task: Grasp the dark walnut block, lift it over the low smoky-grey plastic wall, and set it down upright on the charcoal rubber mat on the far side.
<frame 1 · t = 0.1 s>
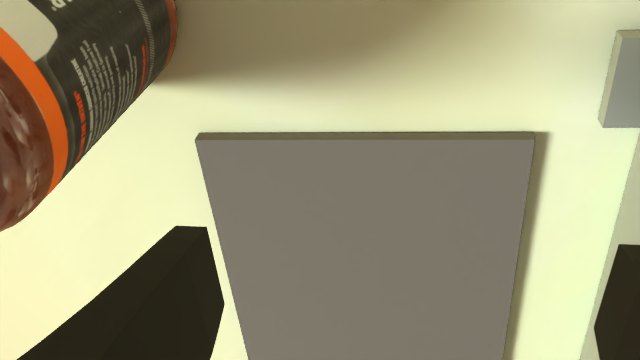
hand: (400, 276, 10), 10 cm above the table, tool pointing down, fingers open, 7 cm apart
low wall: (615, 284, 23), on the table
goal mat: (365, 274, 24), on the table
supplement bottle: (100, 1, 19), on the table
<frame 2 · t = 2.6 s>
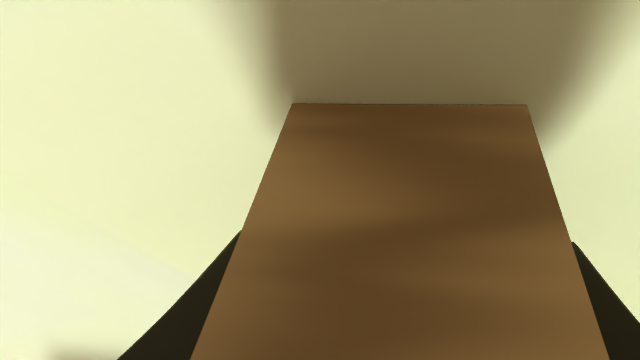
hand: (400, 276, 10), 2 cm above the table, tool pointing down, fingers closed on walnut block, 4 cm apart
walnut block: (403, 197, 12), on the table, touching gripper
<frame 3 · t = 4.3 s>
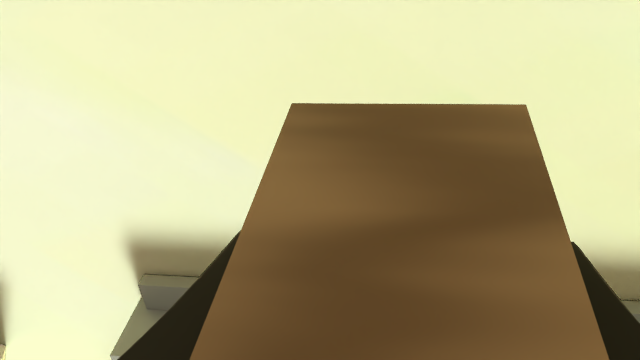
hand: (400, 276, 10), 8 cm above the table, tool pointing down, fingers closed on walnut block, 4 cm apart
low wall: (401, 323, 23), on the table
walnut block: (403, 197, 12), point 6 cm above the table, touching gripper
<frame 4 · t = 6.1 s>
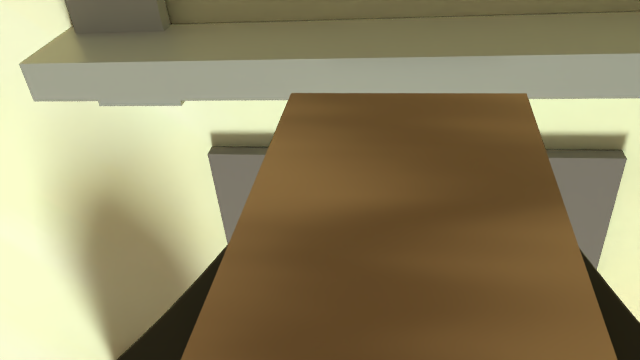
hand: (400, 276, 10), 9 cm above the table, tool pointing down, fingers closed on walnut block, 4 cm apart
low wall: (406, 37, 17), on the table
walnut block: (403, 187, 12), point 7 cm above the table, touching gripper
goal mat: (404, 274, 23), on the table
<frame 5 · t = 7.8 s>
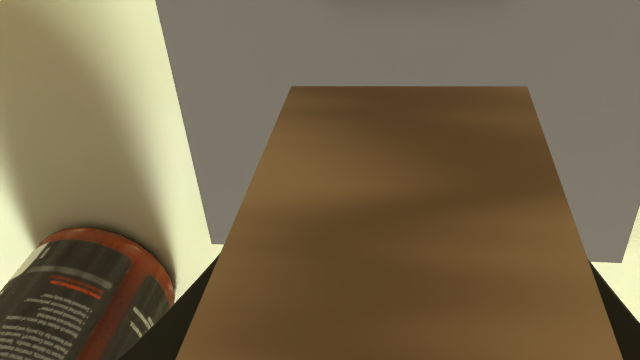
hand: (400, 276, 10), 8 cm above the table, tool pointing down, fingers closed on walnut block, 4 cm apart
walnut block: (403, 181, 12), point 5 cm above the table, touching gripper
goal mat: (409, 88, 17), on the table
supplement bottle: (112, 272, 24), on the table
when the fingers open (4 cm above the table, at t = 9.4 s): walnut block drops 1 cm, resting on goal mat.
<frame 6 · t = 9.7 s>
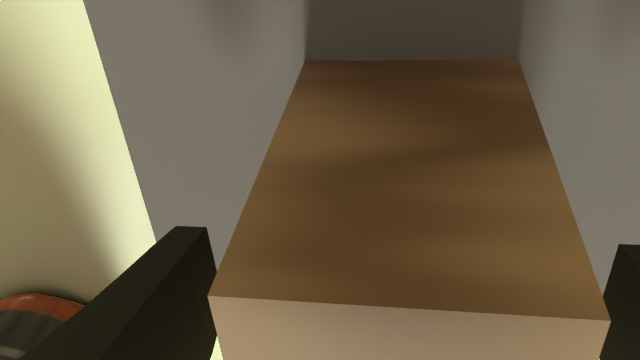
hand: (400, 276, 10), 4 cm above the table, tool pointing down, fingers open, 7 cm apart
walnut block: (406, 150, 13), resting on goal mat
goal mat: (405, 149, 14), on the table
supplement bottle: (70, 338, 21), on the table
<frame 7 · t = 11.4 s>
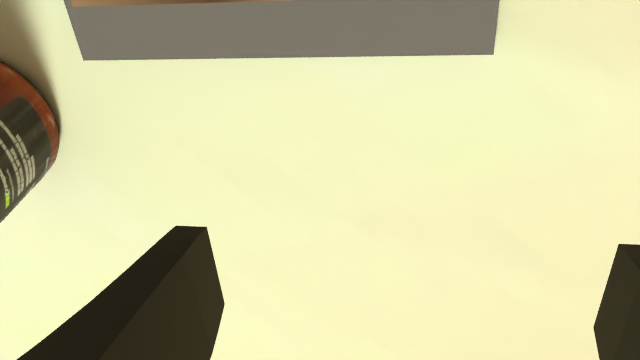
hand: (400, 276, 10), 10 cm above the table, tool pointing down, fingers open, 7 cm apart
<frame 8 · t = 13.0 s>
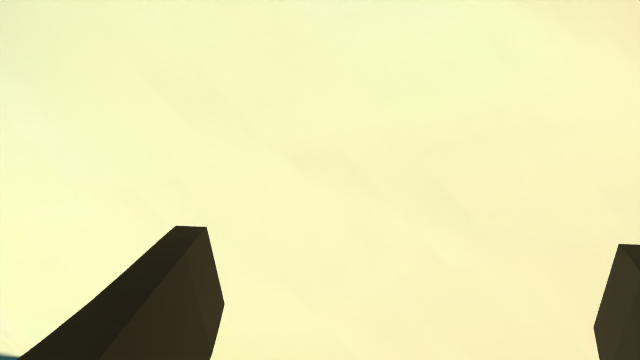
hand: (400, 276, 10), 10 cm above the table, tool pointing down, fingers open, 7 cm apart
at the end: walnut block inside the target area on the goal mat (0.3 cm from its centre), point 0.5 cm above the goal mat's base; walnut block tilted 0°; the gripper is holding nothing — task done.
